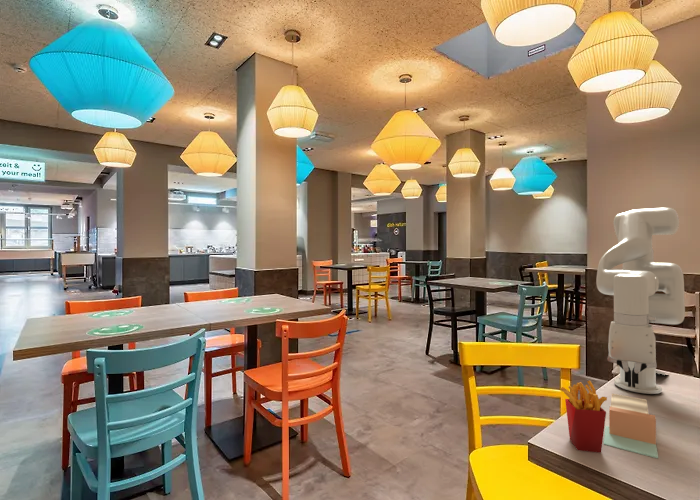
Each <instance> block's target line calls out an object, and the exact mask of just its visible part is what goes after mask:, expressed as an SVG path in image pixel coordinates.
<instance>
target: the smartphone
mask: <svg viewBox="0 0 700 500" xmlns="http://www.w3.org/2000/svg"><path fill="white" fill-rule="evenodd" d="M656 373H657V374H656V375H660V374H662V375H661V376H665V375H666V374H665V373H666V372H664V371H662V370H657V369H656Z"/></svg>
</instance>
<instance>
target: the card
mask: <svg viewBox="0 0 700 500" xmlns="http://www.w3.org/2000/svg"><path fill="white" fill-rule="evenodd" d="M608 414H609V416H608V420H609V425H608V426H609V434H613V435H617V436H622V437H626V438H630V439H634V440H638V441H643V442H647V443H651V444H655V445H656V446H657V430H656V429H657V428H656V426H657V424H656V423H657V422H656V421H657V420H656V415H655V414H649V413H648V414H645V413H640V412H635V411H631V410H626V409H621V408H616V407H611V405H610V406H609V413H608Z"/></svg>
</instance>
